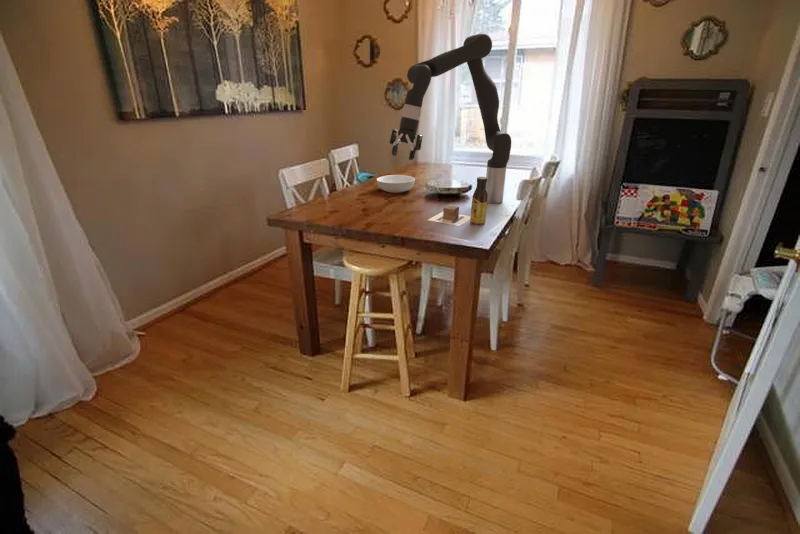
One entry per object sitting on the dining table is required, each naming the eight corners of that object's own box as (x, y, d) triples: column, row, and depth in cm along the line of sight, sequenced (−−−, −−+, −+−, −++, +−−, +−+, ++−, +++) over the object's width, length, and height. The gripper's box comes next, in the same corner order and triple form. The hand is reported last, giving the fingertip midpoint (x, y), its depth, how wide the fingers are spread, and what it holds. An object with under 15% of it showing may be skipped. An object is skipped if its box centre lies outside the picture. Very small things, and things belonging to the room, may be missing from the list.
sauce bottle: (468, 222, 170) (471, 175, 162) (482, 222, 170) (487, 175, 162) (472, 227, 164) (476, 179, 156) (487, 227, 165) (491, 178, 156)
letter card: (443, 212, 183) (443, 211, 183) (473, 218, 175) (473, 216, 175) (427, 221, 171) (427, 219, 171) (459, 227, 164) (459, 226, 164)
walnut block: (448, 215, 176) (448, 204, 174) (458, 217, 174) (459, 206, 172) (443, 218, 172) (443, 207, 170) (453, 220, 170) (454, 209, 168)
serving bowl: (391, 184, 234) (391, 173, 231) (421, 190, 222) (422, 177, 220) (369, 192, 218) (368, 179, 215) (400, 197, 207) (400, 184, 204)
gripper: (429, 122, 164) (420, 161, 169) (401, 116, 170) (393, 154, 175) (420, 119, 158) (411, 160, 163) (391, 113, 164) (383, 153, 169)
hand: (402, 157), depth 169 cm, fingers open, 8 cm apart
